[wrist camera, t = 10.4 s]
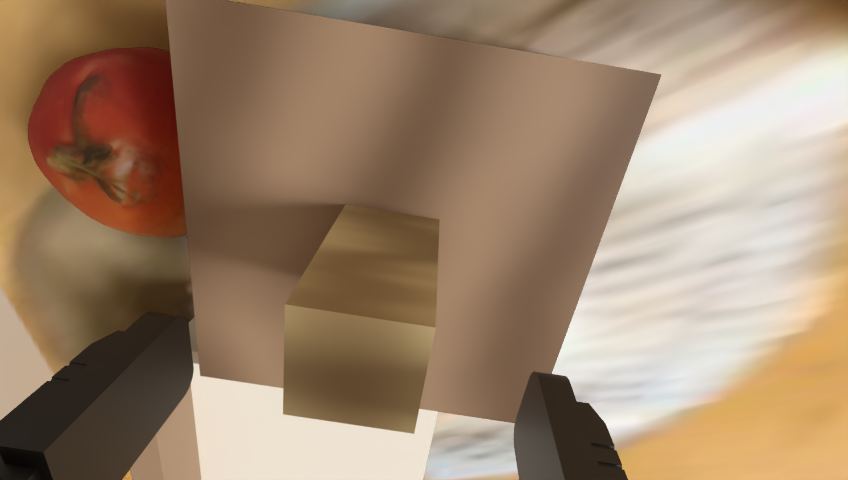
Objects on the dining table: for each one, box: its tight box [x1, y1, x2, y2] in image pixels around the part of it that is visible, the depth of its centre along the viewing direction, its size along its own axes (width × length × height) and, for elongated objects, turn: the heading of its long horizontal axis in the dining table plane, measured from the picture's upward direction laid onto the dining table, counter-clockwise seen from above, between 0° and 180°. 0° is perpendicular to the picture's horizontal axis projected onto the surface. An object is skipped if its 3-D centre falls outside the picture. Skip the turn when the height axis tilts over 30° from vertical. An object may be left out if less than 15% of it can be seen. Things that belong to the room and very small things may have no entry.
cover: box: [165, 0, 661, 434], centre depth 17 cm, size 14×14×17 cm
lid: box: [130, 351, 438, 480], centre depth 23 cm, size 15×11×4 cm
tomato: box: [28, 47, 187, 238], centre depth 21 cm, size 9×9×8 cm
